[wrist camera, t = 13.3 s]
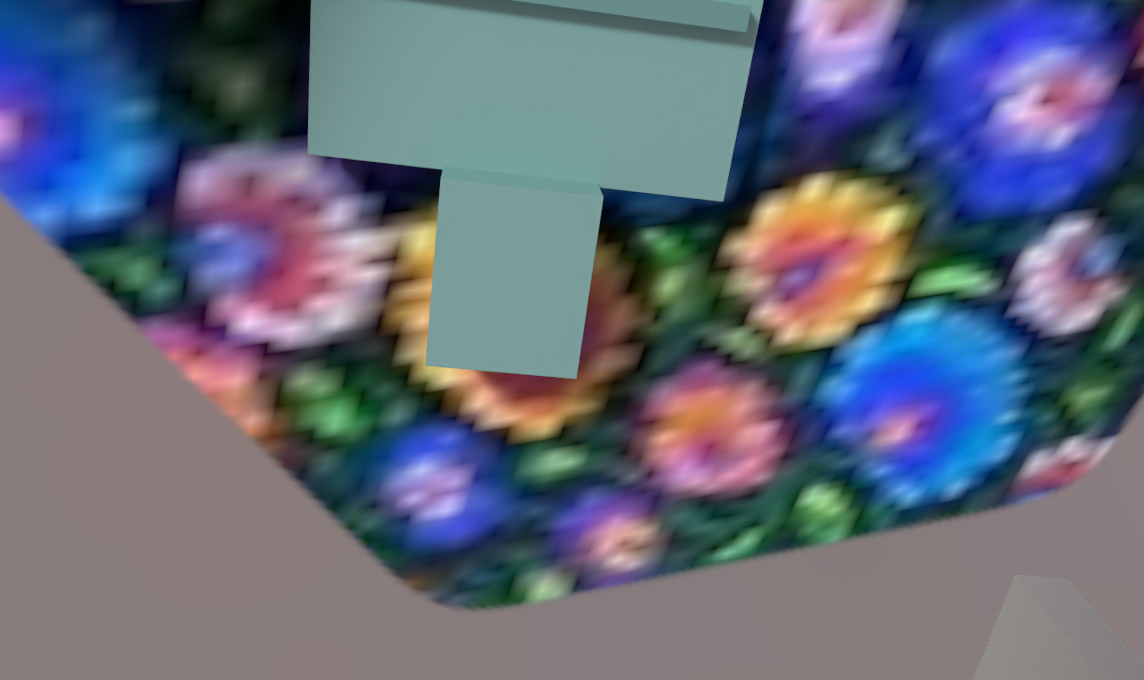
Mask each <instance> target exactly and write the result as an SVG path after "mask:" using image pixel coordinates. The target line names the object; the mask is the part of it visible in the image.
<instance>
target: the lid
mask: <svg viewBox="0 0 1144 680" xmlns="http://www.w3.org/2000/svg"><path fill="white" fill-rule="evenodd" d="M762 5H763V0H311V25H310V68H309V111H308V154H311V155H320V156H328V157H337V158H346V159H355V160H363V161H372V162H381V163H390V164H398V165H407V166H416V167H425V168H433V169H442V170H443V171H442V175H441V180H440V192H439V205H438V218H437V230H436V243H435V256H434V268H433V281H432V293H431V306H430V319H429V331H428V344H427V356H426V366H435V367H446V368H458V369H469V370H480V371H492V372H503V373H514V374H525V375H537V376H548V377H559V378H571V379H577V372H578V365H579V358H580V352H581V345H582V338H583V331H584V325H585V318H586V311H587V305H588V298H589V291H590V284H591V278H592V271H593V264H594V258H595V251H596V244H597V237H598V231H599V224H600V217H601V211H602V204H603V194H602V192H601V190H600V188H608V189H617V190H626V191H634V192H643V193H652V194H661V195H669V196H678V197H687V198H695V199H704V200H713V201H722V202H723V200H724V195H725V190H726V185H727V180H728V175H729V170H730V165H731V160H732V155H733V150H734V145H735V140H736V135H737V130H738V125H739V120H740V115H741V110H742V105H743V100H744V95H745V90H746V85H747V80H748V75H749V70H750V65H751V60H752V55H753V50H754V45H755V40H756V35H757V30H758V25H759V20H760V15H761V10H762Z"/></svg>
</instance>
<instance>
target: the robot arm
mask: <svg viewBox="0 0 1144 680" xmlns="http://www.w3.org/2000/svg"><path fill="white" fill-rule="evenodd" d="M973 680H1144V664H1143V662H1142V661H1141V660H1140V659H1139V658H1138V657H1137V656H1136V655H1135V653H1134V652H1133V651H1132V650H1131V649H1130V648H1129V647H1128V646H1127V645H1126V643H1125V642H1124V641H1123V640H1122V639H1121V638H1120V637H1119V635H1118V634H1117V633H1116V632H1115V631H1114V630H1113V629H1112V628H1111V626H1110V625H1109V624H1108V623H1107V622H1106V621H1105V620H1104V618H1103V617H1102V616H1101V615H1100V614H1099V613H1098V612H1097V610H1096V609H1095V608H1094V607H1093V606H1092V605H1091V604H1090V603H1089V602H1088V601H1087V599H1086V598H1085V597H1084V596H1083V595H1082V593H1081V592H1080V591H1079V590H1078V589H1077V588H1076V587H1075V586H1074V585H1073V583H1071V581H1070V580H1069V579H1068V578H1064V577H1048V576H1032V575H1016V574H1015V576H1014V578H1013V581H1012V583H1011V586H1010V588H1009V591H1008V593H1007V596H1006V598H1005V601H1004V603H1003V606H1002V608H1001V611H1000V613H999V616H998V618H997V621H996V623H995V626H994V628H993V630H992V633H991V636H990V638H989V640H988V643H987V645H986V648H985V651H984V653H983V655H982V658H981V660H980V663H979V665H978V668H977V671H976V673H975V675H974V678H973Z"/></svg>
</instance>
